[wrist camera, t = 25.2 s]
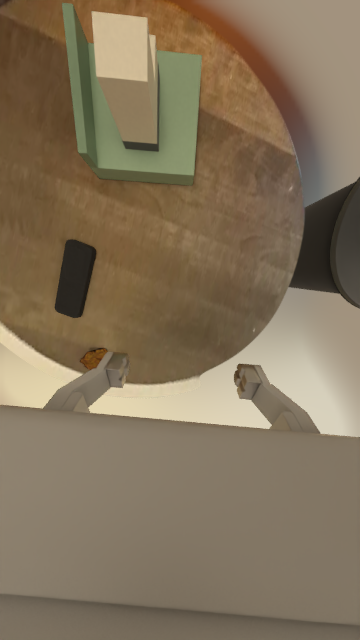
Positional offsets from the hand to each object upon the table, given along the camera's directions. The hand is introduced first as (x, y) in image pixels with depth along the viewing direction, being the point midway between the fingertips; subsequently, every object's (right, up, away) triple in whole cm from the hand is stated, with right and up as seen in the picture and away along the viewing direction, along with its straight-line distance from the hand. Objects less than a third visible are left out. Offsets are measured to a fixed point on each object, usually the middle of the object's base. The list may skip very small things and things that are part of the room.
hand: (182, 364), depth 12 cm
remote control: (-21, +11, +20) cm, 31 cm away
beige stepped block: (-6, +33, +10) cm, 35 cm away
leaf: (-19, -6, +25) cm, 32 cm away
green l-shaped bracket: (-6, +33, +13) cm, 36 cm away
